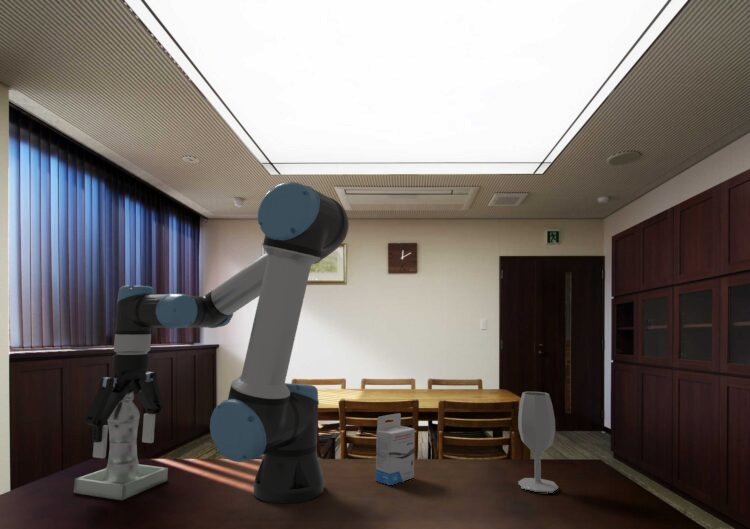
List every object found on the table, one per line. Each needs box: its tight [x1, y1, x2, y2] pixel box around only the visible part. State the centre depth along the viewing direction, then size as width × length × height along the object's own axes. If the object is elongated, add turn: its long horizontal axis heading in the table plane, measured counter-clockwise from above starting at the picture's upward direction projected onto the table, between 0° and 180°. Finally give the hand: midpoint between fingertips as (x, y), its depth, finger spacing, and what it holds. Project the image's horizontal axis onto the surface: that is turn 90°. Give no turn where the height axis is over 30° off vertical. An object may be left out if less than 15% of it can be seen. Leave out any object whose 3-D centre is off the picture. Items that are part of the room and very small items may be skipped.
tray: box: [73, 463, 169, 501], centre depth 106 cm, size 13×13×3 cm
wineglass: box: [517, 391, 559, 494], centre depth 110 cm, size 9×9×21 cm
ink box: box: [375, 412, 416, 486], centre depth 113 cm, size 8×5×15 cm, turn 134°
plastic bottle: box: [105, 391, 141, 484], centre depth 106 cm, size 6×7×20 cm
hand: (124, 449), depth 107 cm, fingers open, 13 cm apart
